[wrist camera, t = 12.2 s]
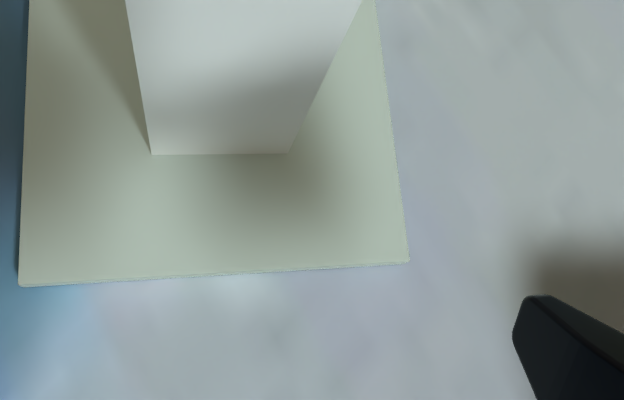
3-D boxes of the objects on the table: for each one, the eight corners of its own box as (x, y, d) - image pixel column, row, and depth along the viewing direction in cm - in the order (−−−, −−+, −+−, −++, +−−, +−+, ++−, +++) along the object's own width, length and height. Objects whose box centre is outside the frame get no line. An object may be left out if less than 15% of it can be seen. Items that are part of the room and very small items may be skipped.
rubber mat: (403, 264, 20) (409, 261, 19) (23, 287, 17) (18, 284, 16) (364, -37, 23) (368, -47, 22) (36, -57, 20) (32, -69, 19)
